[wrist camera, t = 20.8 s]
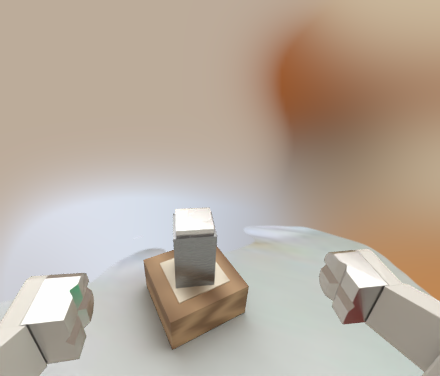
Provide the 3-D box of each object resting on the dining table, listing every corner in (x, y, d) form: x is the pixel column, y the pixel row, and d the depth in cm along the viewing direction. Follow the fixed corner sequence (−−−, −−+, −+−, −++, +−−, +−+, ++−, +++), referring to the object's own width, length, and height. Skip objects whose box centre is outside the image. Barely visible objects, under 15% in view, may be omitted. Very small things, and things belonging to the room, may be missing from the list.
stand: (172, 349, 35) (170, 322, 32) (146, 285, 44) (143, 259, 41) (244, 312, 41) (248, 285, 38) (208, 261, 50) (209, 236, 47)
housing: (214, 284, 38) (217, 230, 33) (175, 288, 37) (173, 233, 32) (209, 257, 42) (211, 206, 37) (175, 259, 41) (172, 207, 36)
